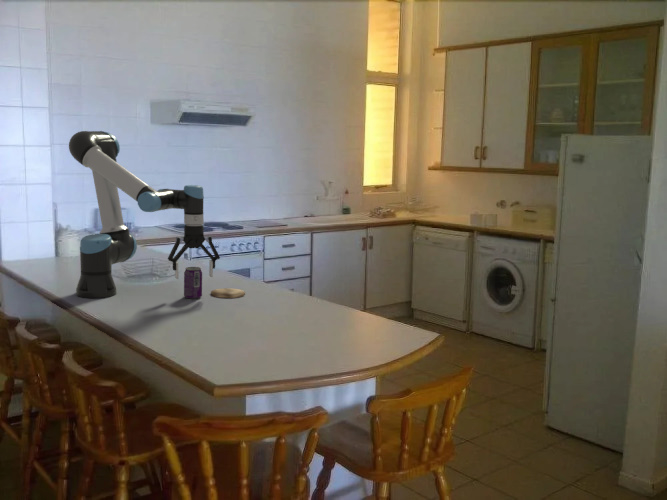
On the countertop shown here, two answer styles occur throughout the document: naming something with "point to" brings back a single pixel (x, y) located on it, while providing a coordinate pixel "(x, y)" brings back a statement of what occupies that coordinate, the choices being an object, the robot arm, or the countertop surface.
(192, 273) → the beverage can
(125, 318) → the countertop surface
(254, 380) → the countertop surface
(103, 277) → the robot arm
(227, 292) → the coaster
